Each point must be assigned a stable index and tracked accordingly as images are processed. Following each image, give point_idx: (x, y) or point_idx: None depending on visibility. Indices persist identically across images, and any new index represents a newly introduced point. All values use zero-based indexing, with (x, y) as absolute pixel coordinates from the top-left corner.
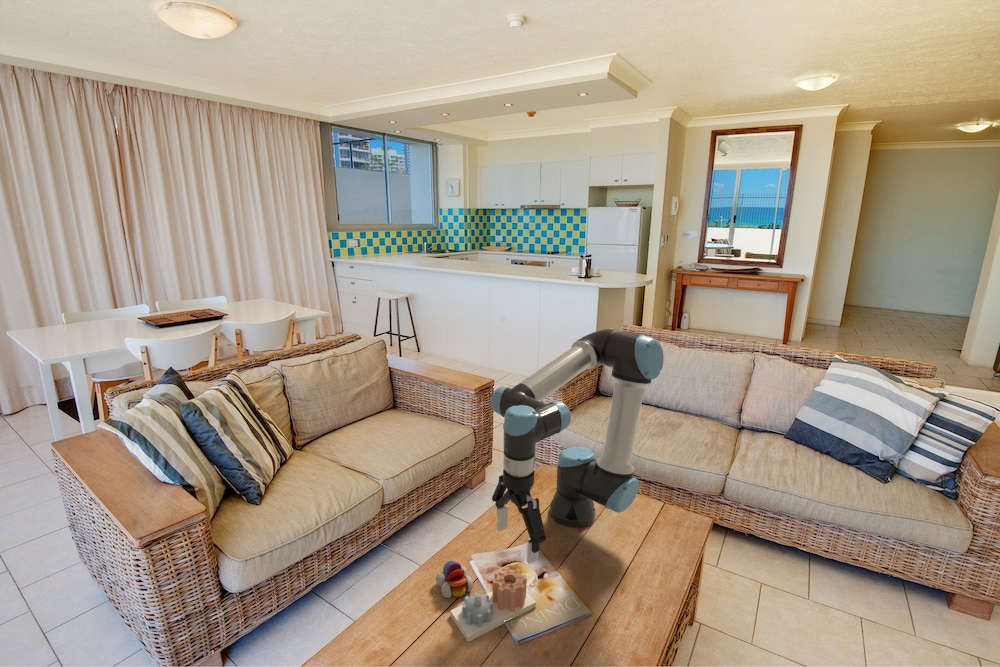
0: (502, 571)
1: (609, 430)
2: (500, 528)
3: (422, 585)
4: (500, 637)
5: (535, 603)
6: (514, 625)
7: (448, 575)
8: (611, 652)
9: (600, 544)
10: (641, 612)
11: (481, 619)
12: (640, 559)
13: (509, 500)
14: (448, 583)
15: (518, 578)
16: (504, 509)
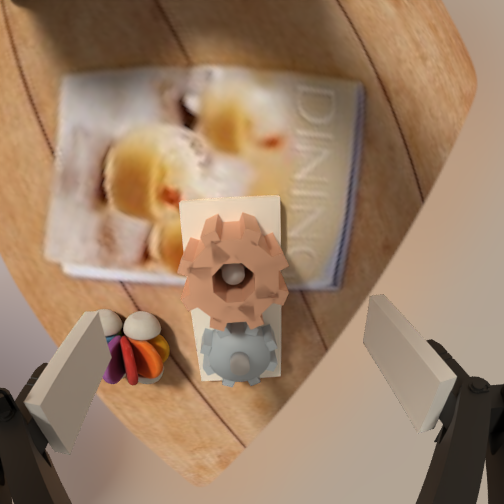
0: (191, 287)
1: None
2: (104, 356)
3: (108, 383)
4: (305, 312)
5: (279, 199)
6: (296, 272)
7: (123, 373)
8: (448, 131)
9: None
10: (405, 4)
11: (276, 359)
12: None
13: (44, 480)
14: (144, 378)
15: (244, 256)
16: (55, 416)
